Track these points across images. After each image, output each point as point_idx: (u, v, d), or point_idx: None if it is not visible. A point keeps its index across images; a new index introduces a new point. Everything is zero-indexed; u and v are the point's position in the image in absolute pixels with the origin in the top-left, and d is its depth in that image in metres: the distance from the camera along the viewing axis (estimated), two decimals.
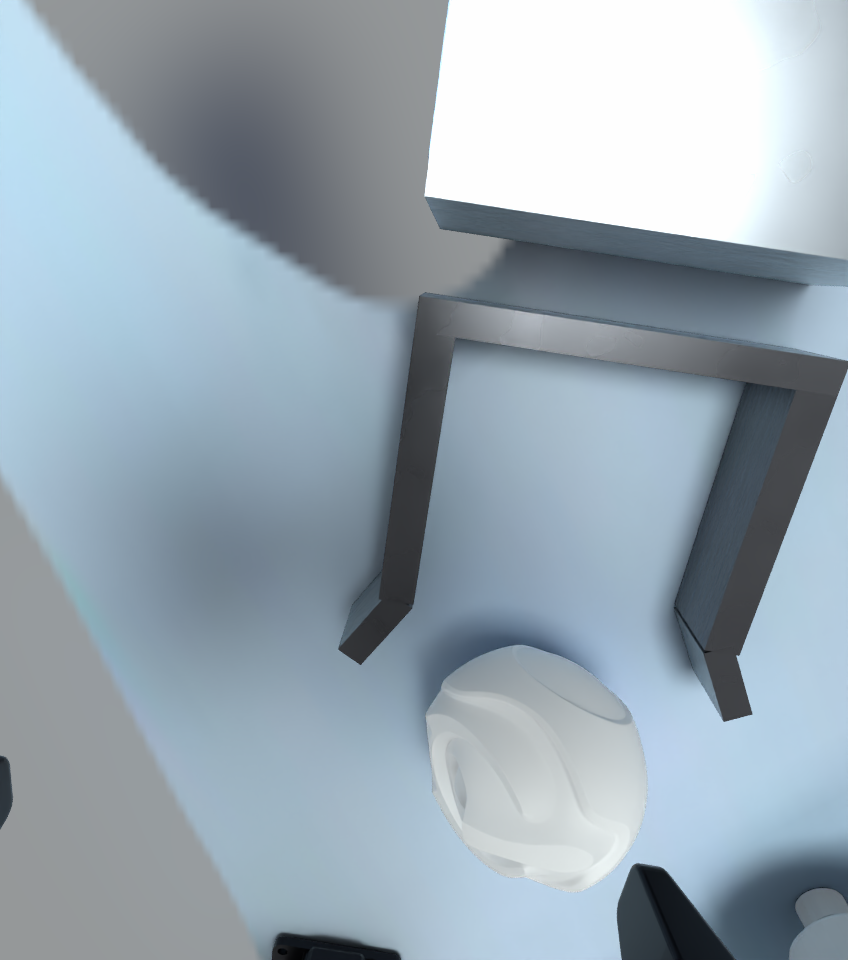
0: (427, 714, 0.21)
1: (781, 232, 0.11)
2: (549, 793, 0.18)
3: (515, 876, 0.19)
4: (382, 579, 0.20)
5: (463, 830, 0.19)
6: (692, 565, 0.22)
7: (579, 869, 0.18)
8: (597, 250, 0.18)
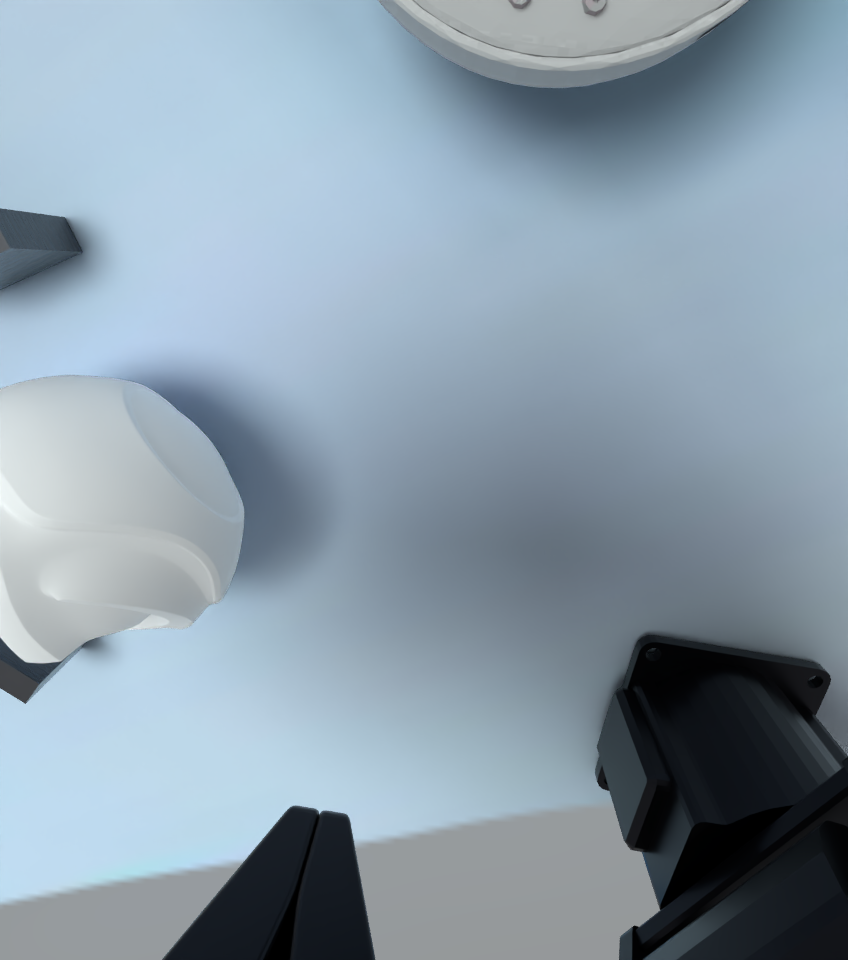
0: None
1: None
2: None
3: (97, 602, 0.13)
4: None
5: (35, 662, 0.14)
6: None
7: None
8: None
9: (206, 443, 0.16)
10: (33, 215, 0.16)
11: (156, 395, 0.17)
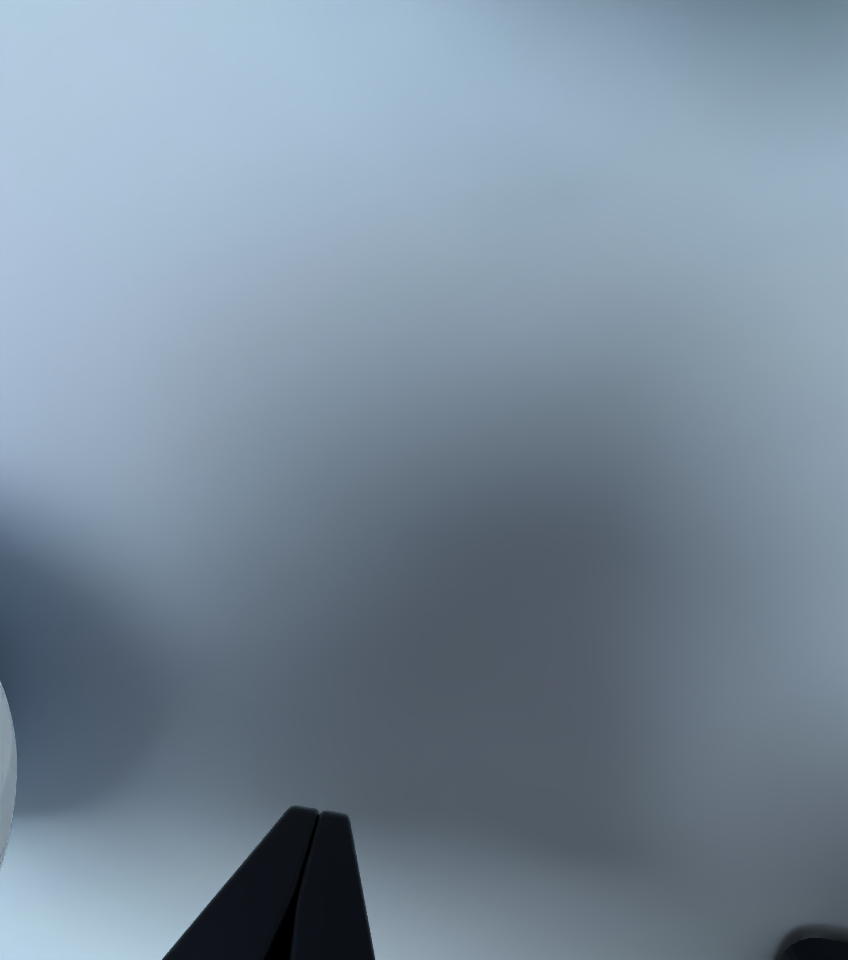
0: None
1: None
2: None
3: None
4: None
5: None
6: None
7: None
8: None
9: None
10: None
11: None
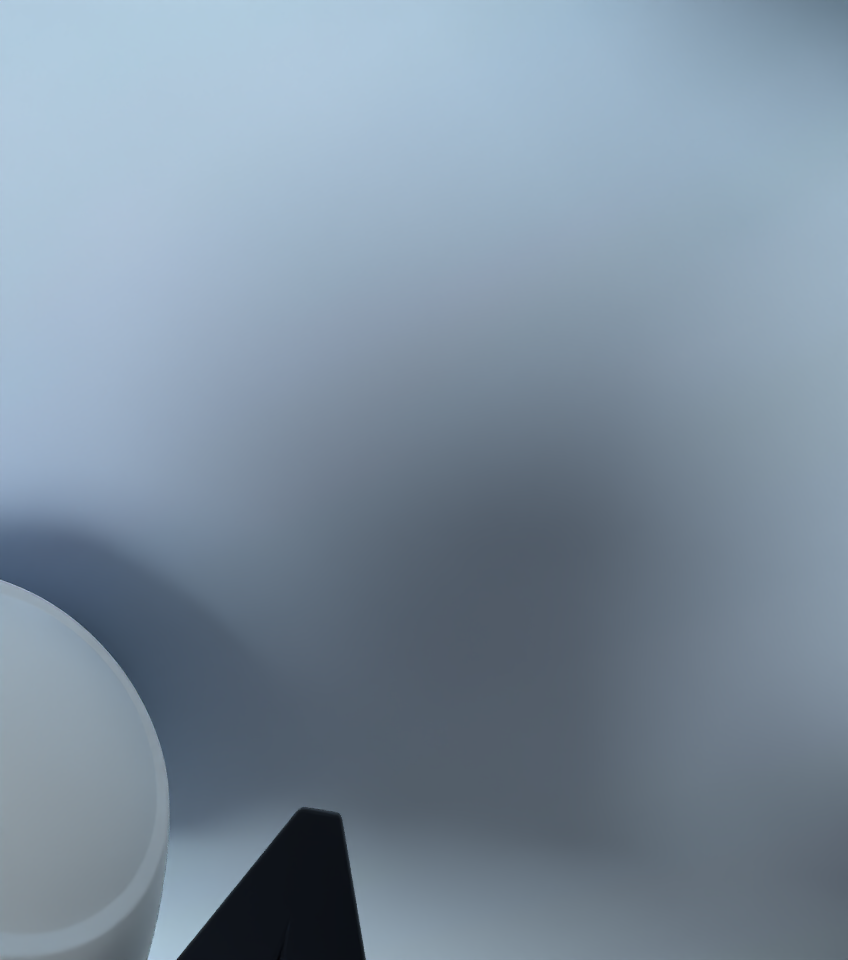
0: None
1: None
2: None
3: None
4: None
5: None
6: None
7: None
8: None
9: (68, 712, 0.07)
10: None
11: None
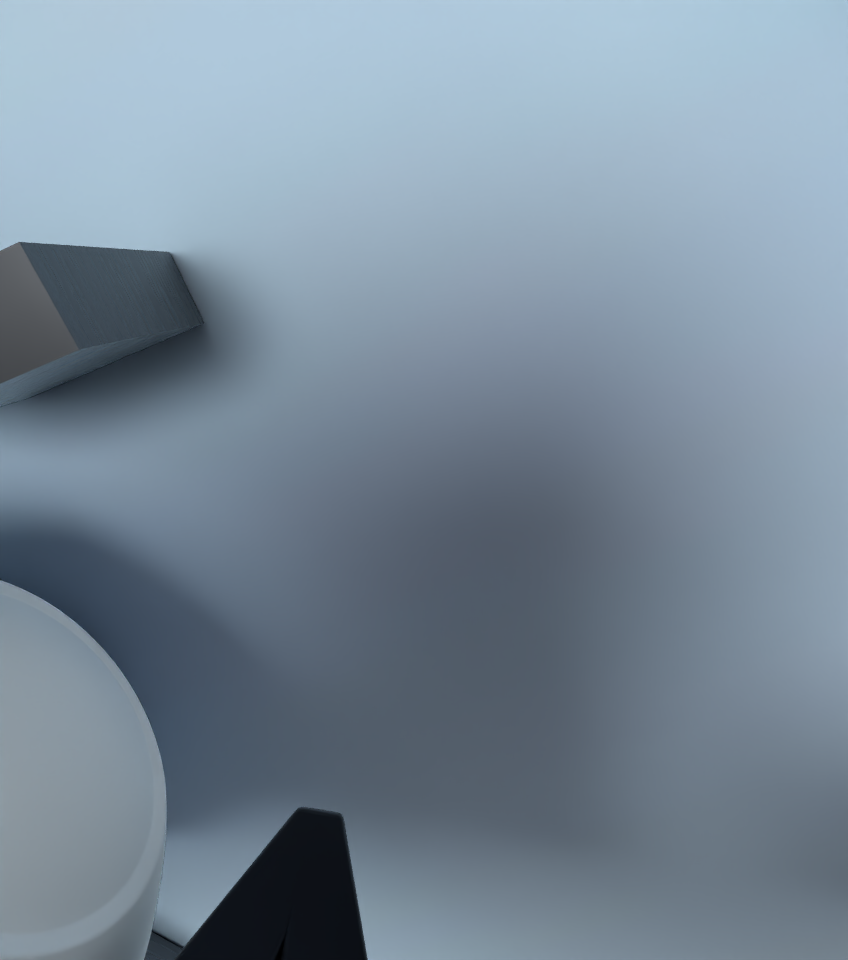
0: None
1: None
2: None
3: None
4: None
5: None
6: None
7: None
8: None
9: (65, 711, 0.07)
10: (118, 254, 0.07)
11: None
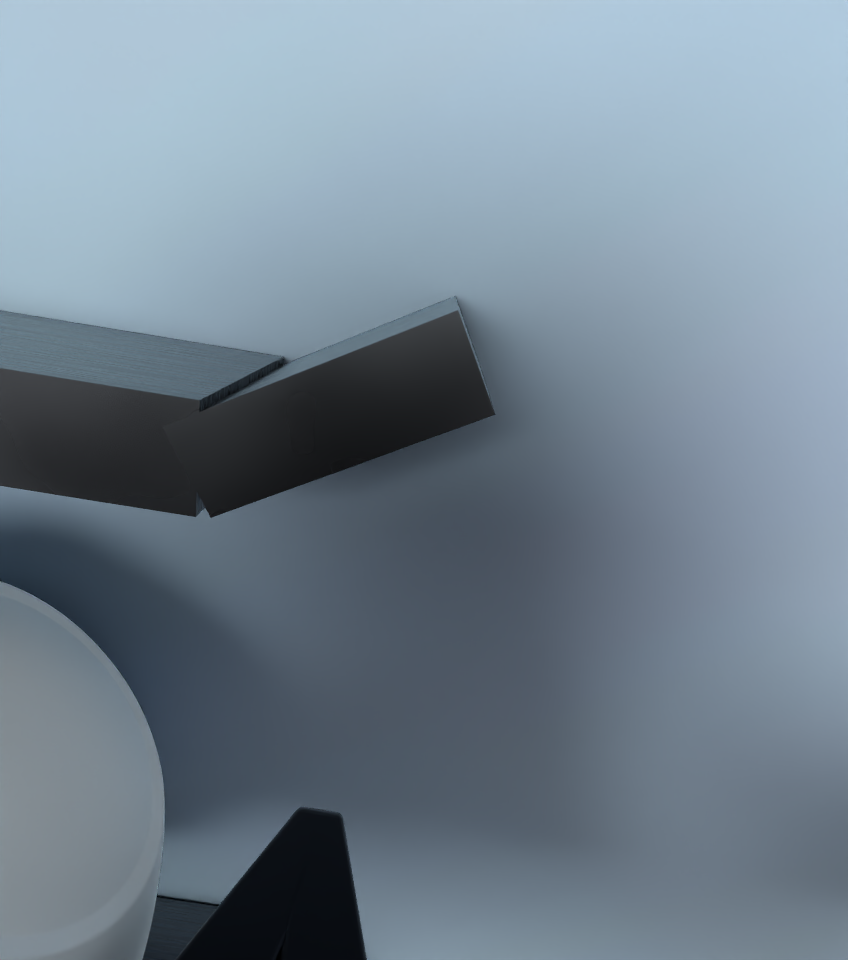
0: None
1: None
2: None
3: None
4: None
5: None
6: None
7: None
8: None
9: (63, 712, 0.07)
10: (458, 306, 0.07)
11: None
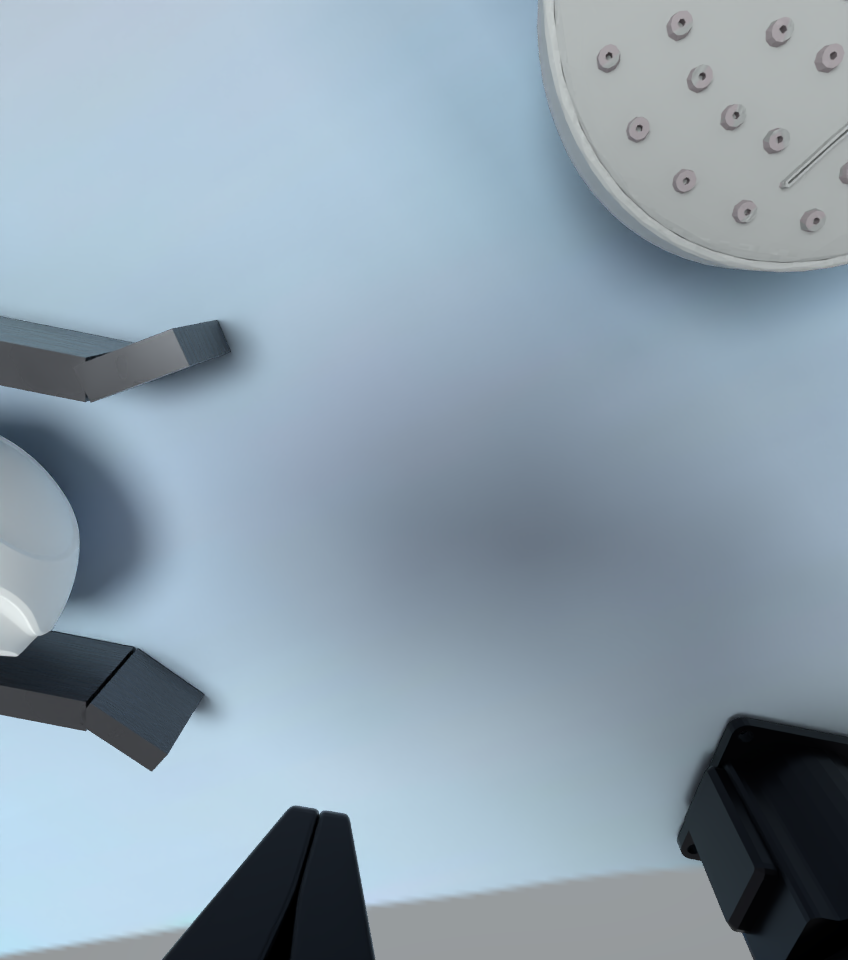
0: None
1: None
2: None
3: None
4: (63, 725, 0.20)
5: None
6: None
7: None
8: None
9: (32, 485, 0.17)
10: (199, 326, 0.17)
11: None
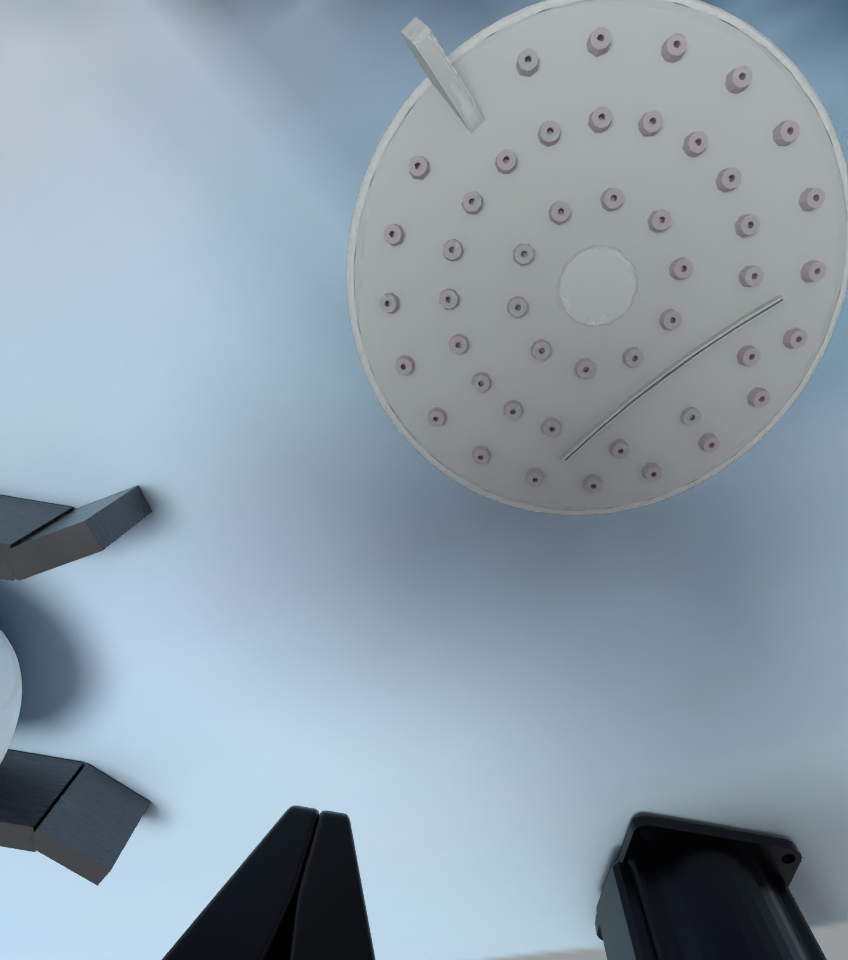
0: None
1: None
2: None
3: None
4: (14, 847, 0.22)
5: None
6: None
7: None
8: None
9: None
10: (116, 502, 0.19)
11: None
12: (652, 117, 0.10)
